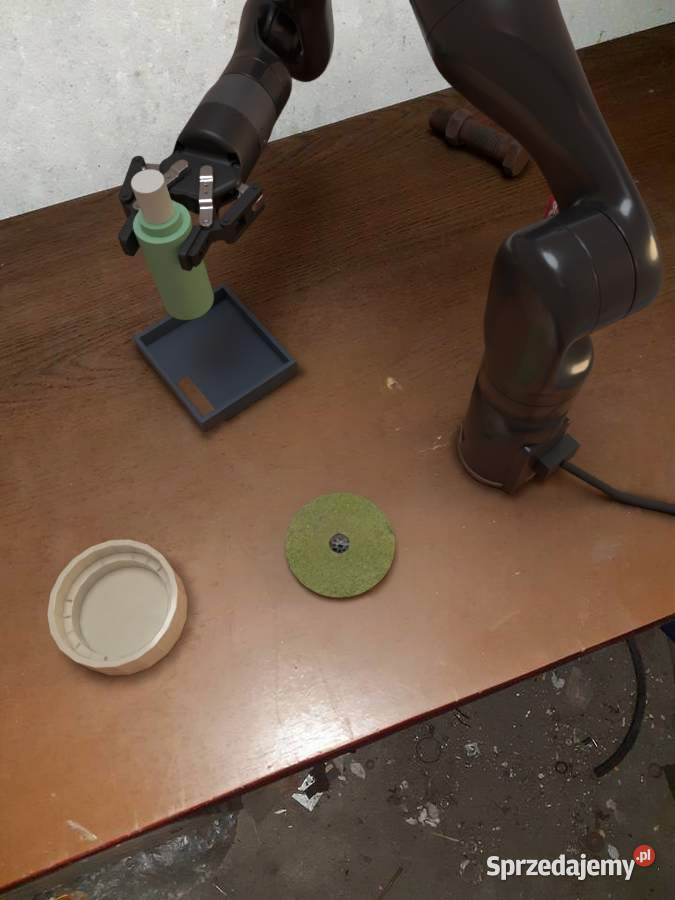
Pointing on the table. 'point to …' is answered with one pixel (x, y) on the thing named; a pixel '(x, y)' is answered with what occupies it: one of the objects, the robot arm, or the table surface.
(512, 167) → the bolt
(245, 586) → the table surface
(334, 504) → the mat
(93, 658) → the bowl
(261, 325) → the tray
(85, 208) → the table surface
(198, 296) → the bottle
